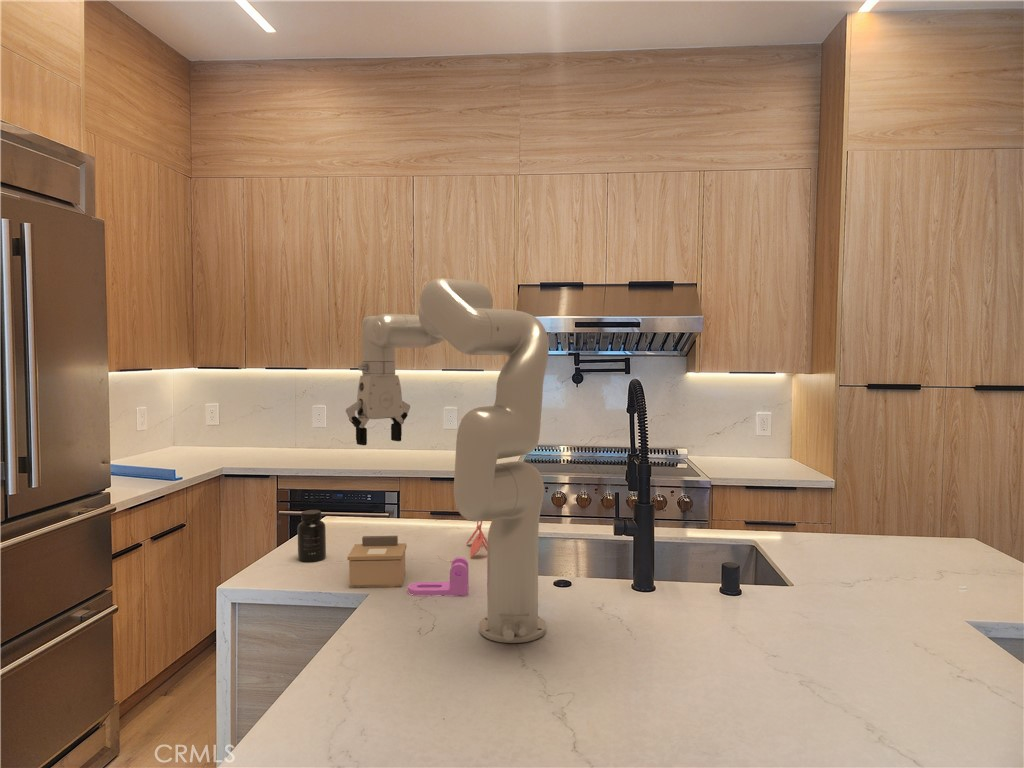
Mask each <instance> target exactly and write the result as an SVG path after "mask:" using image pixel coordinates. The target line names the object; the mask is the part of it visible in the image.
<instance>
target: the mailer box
mask: <svg viewBox="0 0 1024 768" xmlns="http://www.w3.org/2000/svg"><path fill="white" fill-rule="evenodd" d="M404 575H405V576H406V552H405V553H404V556H403V559H395V560H348V577H349V578H348V579H349V580H348V584H349V585H348V586H349V587H376V588H399V587H398V586H401V587H402V585H403V583H402V582H404V580H403V579H405V576H404ZM395 586H397V587H395ZM349 587H348V588H349Z"/></svg>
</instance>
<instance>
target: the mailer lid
mask: <svg viewBox="0 0 1024 768" xmlns="http://www.w3.org/2000/svg"><path fill="white" fill-rule="evenodd" d="M398 537H399V535H363V536H362V538H361V539H362V541H361V542H362V543H356V544H354V545H353V546H352V549H351V550H350V552H349V554H348V555H347V558H346V559H347V561H350V560H395V559H403V556H404V553H405V554H406V549H407V545H408V544H407V543H406V542H404V543H399V542H398V541H399V540H398V539H399V538H398Z"/></svg>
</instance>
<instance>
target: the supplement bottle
mask: <svg viewBox="0 0 1024 768" xmlns="http://www.w3.org/2000/svg"><path fill="white" fill-rule="evenodd" d="M300 514H301V518H300V519H301V522H300V523H298V525H297V557H298V560H299V561H300V562H304V563H314V562H320V561H323V560H324V559H325V558H326V557H327V543H326V542H327V541H326V540H327V539H326V536H327V535H326V524H325V522H324V521H323V520H321V519H322V511H321V510H319V509H309V510H303V511H302V512H301V513H300Z"/></svg>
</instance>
